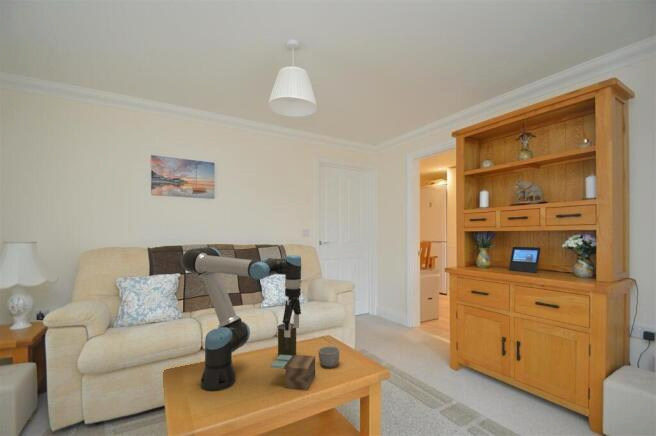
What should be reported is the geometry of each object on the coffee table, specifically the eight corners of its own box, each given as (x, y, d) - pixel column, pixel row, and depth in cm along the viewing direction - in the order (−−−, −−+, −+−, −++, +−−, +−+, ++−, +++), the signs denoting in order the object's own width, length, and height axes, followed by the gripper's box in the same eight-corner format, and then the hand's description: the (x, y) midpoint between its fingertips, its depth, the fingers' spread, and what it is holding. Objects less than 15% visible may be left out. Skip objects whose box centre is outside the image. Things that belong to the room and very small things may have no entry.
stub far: (276, 361, 150) (276, 358, 150) (280, 357, 155) (280, 354, 155) (290, 362, 149) (290, 359, 149) (293, 358, 153) (293, 355, 153)
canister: (278, 354, 178) (277, 318, 178) (296, 354, 179) (296, 318, 179) (276, 363, 167) (276, 324, 167) (296, 362, 168) (296, 324, 169)
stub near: (270, 367, 143) (270, 365, 143) (274, 363, 148) (274, 360, 148) (285, 369, 142) (285, 366, 142) (289, 364, 147) (289, 361, 147)
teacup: (337, 370, 158) (337, 354, 158) (316, 368, 160) (316, 352, 160) (341, 359, 172) (341, 344, 172) (322, 357, 174) (322, 342, 174)
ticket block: (285, 387, 141) (285, 366, 141) (295, 373, 155) (295, 354, 155) (307, 390, 139) (307, 368, 139) (315, 375, 153) (315, 356, 153)
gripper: (292, 293, 139) (291, 342, 139) (307, 283, 164) (306, 324, 163) (276, 292, 141) (275, 340, 140) (293, 282, 165) (292, 323, 165)
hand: (291, 332), depth 152 cm, fingers open, 13 cm apart
